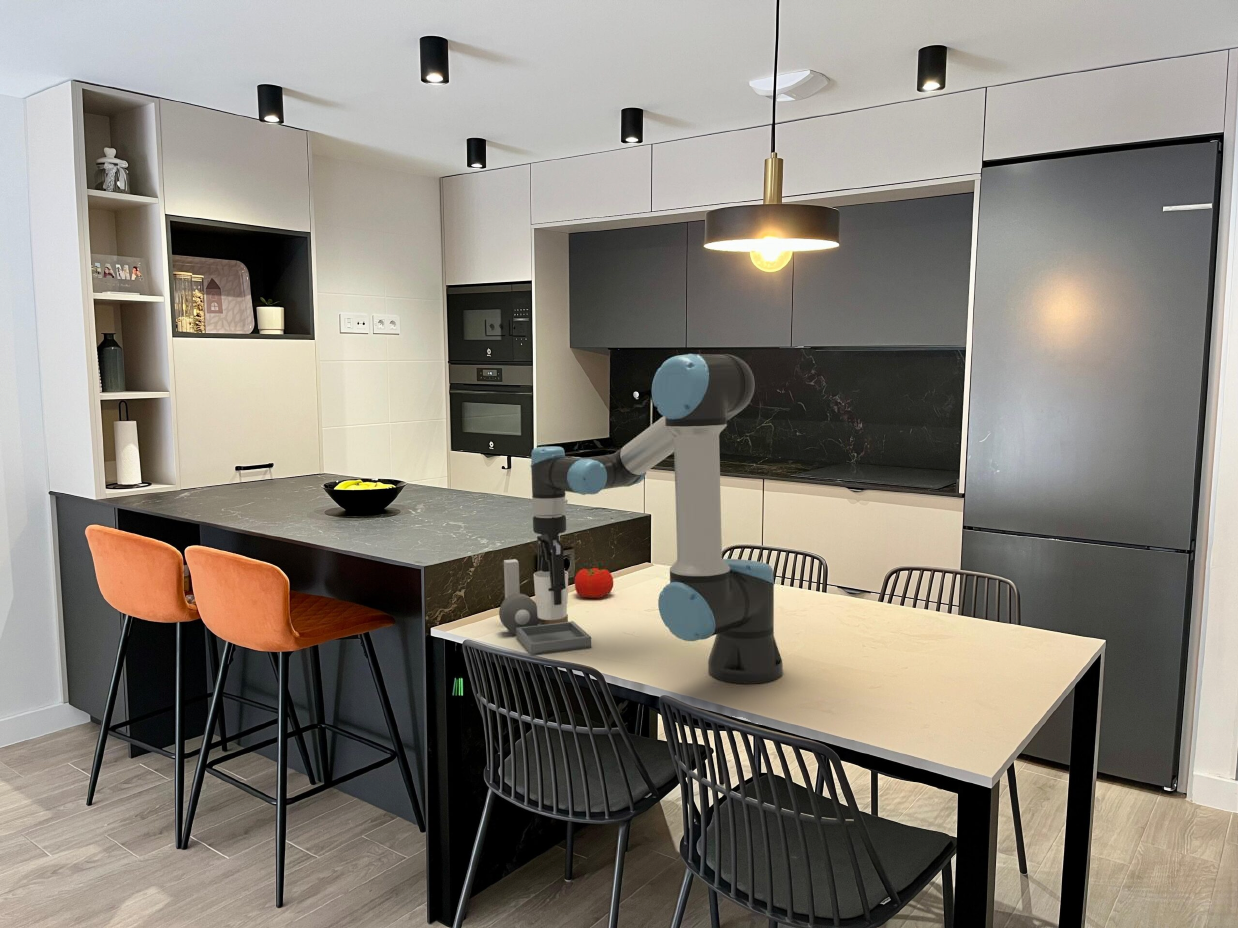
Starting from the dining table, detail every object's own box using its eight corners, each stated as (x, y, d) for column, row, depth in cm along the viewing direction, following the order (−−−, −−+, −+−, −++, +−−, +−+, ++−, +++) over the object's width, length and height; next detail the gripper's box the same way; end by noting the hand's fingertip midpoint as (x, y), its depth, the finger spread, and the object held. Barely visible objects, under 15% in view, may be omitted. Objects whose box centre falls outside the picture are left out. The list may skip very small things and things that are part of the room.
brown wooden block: (568, 630, 218) (567, 614, 218) (549, 633, 216) (548, 617, 216) (557, 624, 224) (557, 608, 223) (538, 627, 221) (538, 611, 221)
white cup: (571, 611, 211) (570, 569, 210) (566, 621, 203) (565, 577, 202) (538, 611, 212) (537, 569, 211) (531, 620, 204) (530, 577, 203)
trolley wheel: (541, 633, 216) (539, 567, 214) (504, 637, 213) (502, 571, 211) (529, 620, 227) (527, 558, 225) (494, 625, 224) (491, 561, 222)
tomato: (620, 594, 252) (620, 567, 251) (598, 603, 243) (598, 575, 242) (588, 589, 258) (588, 563, 257) (566, 598, 248) (565, 571, 248)
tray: (591, 647, 204) (591, 636, 204) (531, 655, 199) (530, 644, 199) (573, 631, 217) (573, 620, 217) (516, 638, 212) (515, 627, 212)
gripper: (578, 520, 197) (580, 623, 199) (553, 507, 216) (555, 601, 218) (545, 523, 194) (547, 627, 197) (522, 509, 213) (525, 604, 216)
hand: (551, 613), depth 208 cm, fingers closed on white cup, 7 cm apart
